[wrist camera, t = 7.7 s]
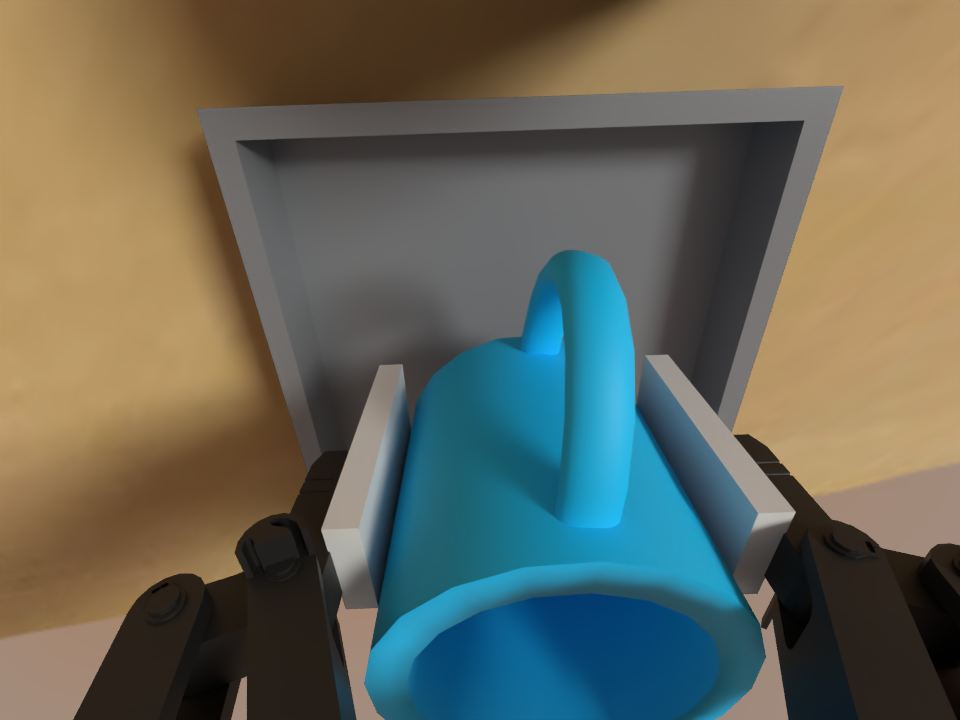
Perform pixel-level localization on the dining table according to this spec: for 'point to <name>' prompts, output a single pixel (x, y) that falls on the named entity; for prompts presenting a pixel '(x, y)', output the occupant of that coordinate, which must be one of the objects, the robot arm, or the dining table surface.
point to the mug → (553, 538)
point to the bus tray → (510, 228)
